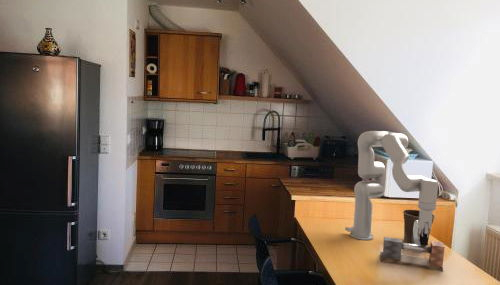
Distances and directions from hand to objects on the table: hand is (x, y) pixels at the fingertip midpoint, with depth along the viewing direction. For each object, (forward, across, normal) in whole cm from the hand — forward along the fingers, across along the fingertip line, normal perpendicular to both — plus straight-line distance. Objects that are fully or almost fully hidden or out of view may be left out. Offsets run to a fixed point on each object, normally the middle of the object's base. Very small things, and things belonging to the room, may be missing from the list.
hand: (423, 243), depth 190 cm
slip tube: (+4, 0, -5) cm, 6 cm away
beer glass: (+10, -20, 0) cm, 23 cm away
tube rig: (+10, 0, -6) cm, 12 cm away
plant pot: (+11, -34, 0) cm, 36 cm away
